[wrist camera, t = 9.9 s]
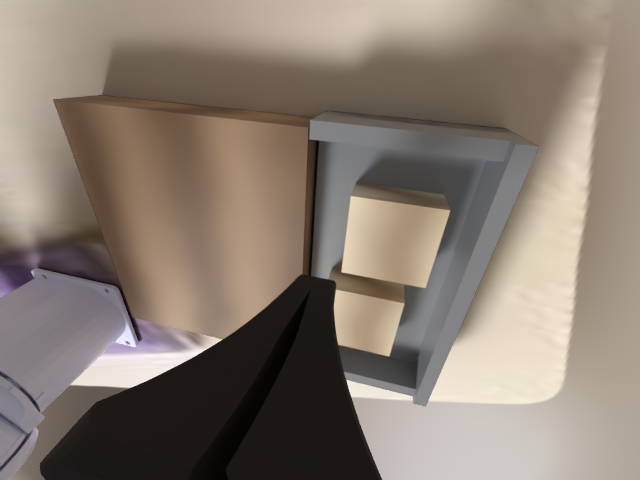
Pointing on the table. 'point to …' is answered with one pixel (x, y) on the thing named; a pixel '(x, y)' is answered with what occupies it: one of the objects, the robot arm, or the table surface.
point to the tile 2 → (393, 233)
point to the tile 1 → (366, 311)
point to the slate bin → (458, 237)
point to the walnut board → (197, 204)
